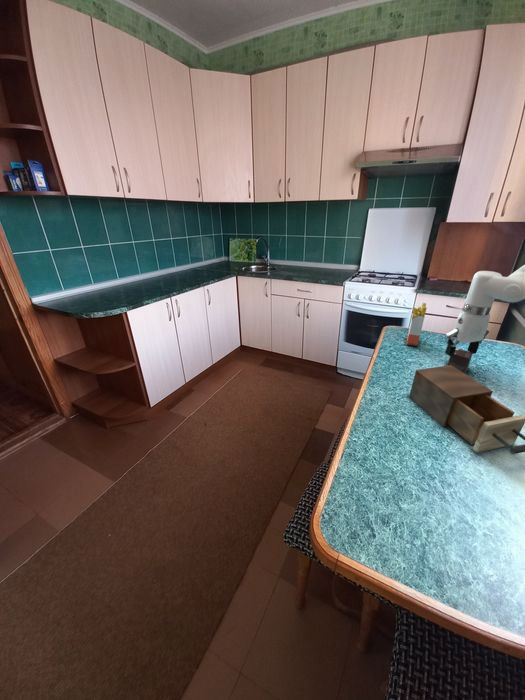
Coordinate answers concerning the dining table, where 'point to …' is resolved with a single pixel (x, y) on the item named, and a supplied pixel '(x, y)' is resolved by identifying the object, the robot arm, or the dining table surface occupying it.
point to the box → (460, 360)
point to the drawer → (486, 423)
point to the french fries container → (416, 325)
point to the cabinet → (443, 390)
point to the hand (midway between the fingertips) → (460, 353)
